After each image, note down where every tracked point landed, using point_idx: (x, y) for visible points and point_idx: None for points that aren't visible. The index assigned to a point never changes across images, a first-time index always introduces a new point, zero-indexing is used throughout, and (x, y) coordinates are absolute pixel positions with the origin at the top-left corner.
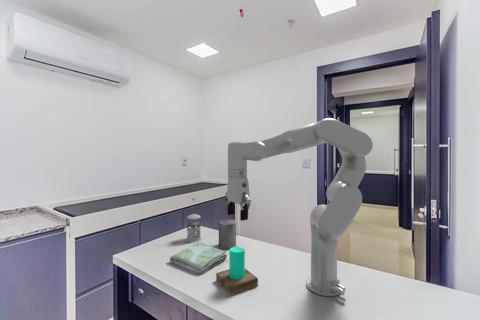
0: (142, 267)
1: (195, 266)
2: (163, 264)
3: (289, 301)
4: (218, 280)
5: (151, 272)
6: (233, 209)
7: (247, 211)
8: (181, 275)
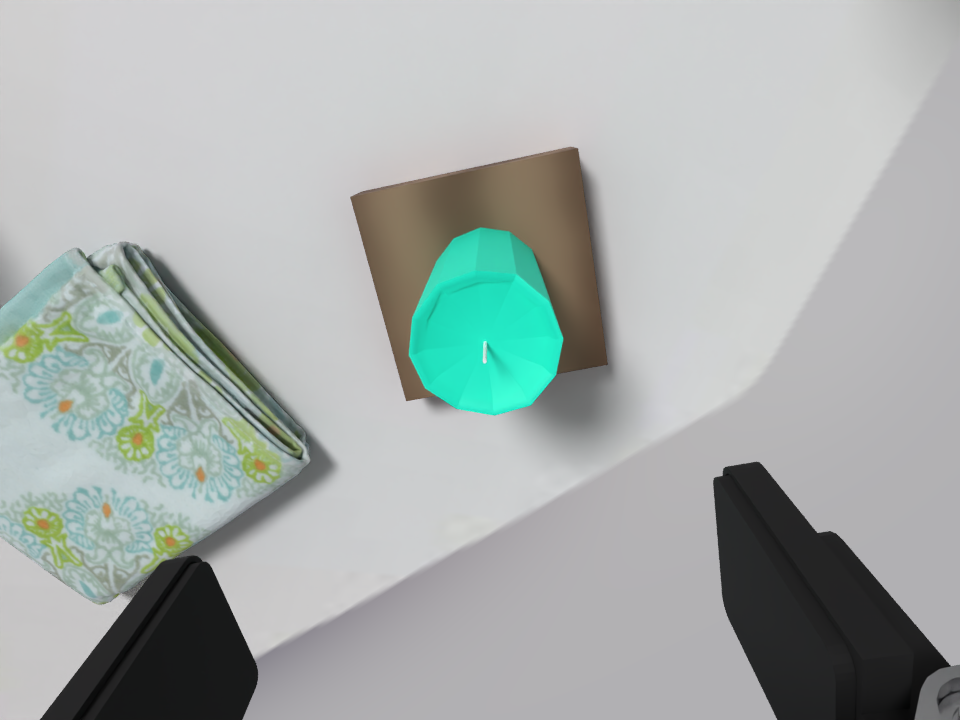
0: None
1: (269, 493)
2: None
3: (823, 15)
4: None
5: None
6: (163, 670)
7: (861, 608)
8: (299, 543)
